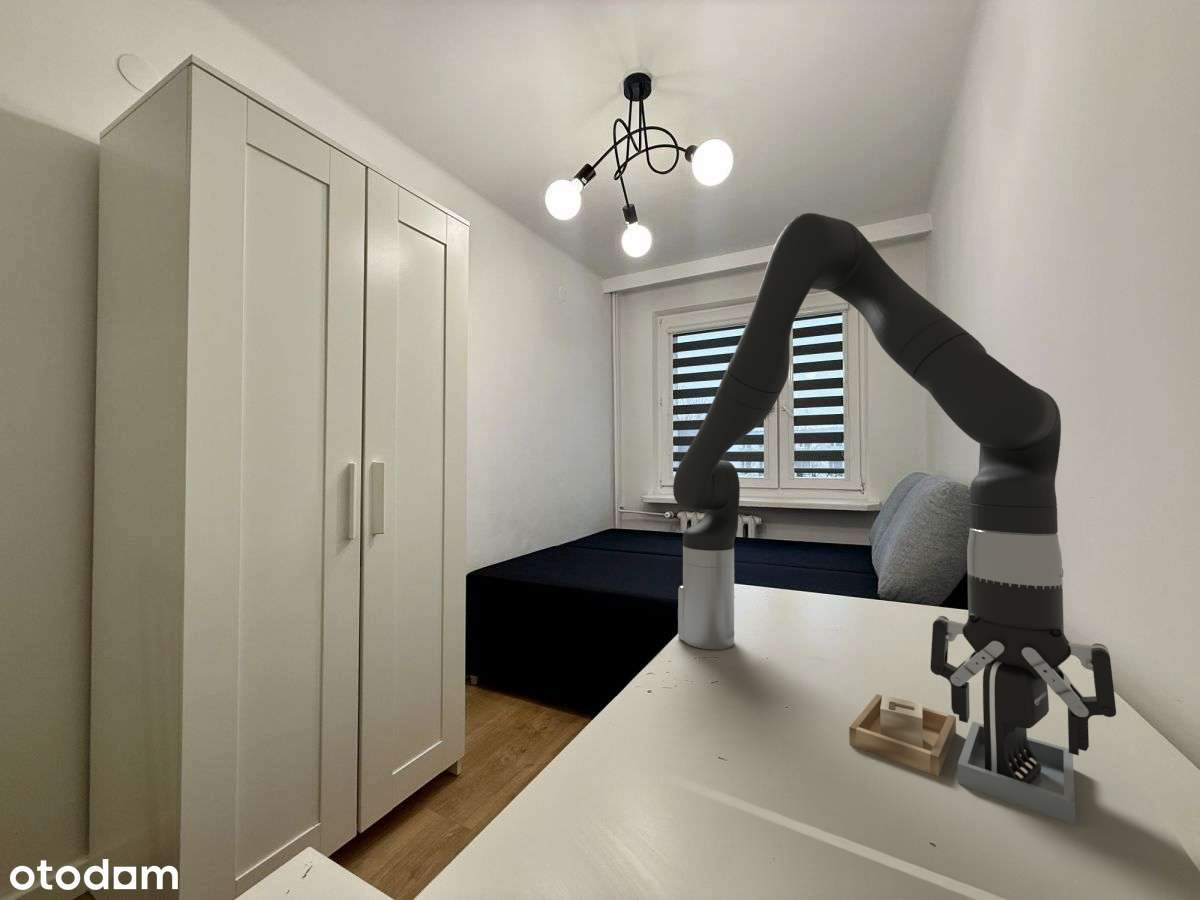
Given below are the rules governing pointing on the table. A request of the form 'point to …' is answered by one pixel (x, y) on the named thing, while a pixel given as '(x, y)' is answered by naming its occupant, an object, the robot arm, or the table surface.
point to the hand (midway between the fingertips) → (1016, 734)
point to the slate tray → (1041, 795)
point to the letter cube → (902, 720)
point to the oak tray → (928, 759)
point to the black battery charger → (1011, 719)
